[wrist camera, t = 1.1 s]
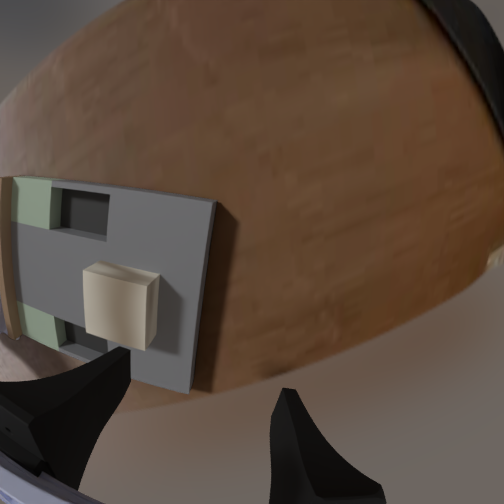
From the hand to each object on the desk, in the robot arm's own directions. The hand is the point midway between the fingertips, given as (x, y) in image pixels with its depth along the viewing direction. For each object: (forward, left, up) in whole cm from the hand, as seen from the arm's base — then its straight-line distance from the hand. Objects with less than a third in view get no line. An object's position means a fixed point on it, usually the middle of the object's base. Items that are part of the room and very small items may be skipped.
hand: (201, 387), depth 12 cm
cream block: (-7, -1, -8) cm, 11 cm away
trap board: (-12, -1, -10) cm, 16 cm away
